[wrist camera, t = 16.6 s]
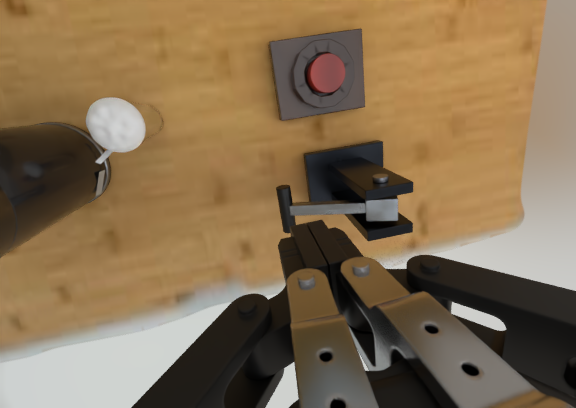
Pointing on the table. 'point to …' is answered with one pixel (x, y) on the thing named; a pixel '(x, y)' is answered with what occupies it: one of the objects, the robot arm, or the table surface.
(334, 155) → the switch bracket
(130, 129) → the milkshake
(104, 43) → the table surface
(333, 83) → the button
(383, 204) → the switch lever
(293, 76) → the button block
